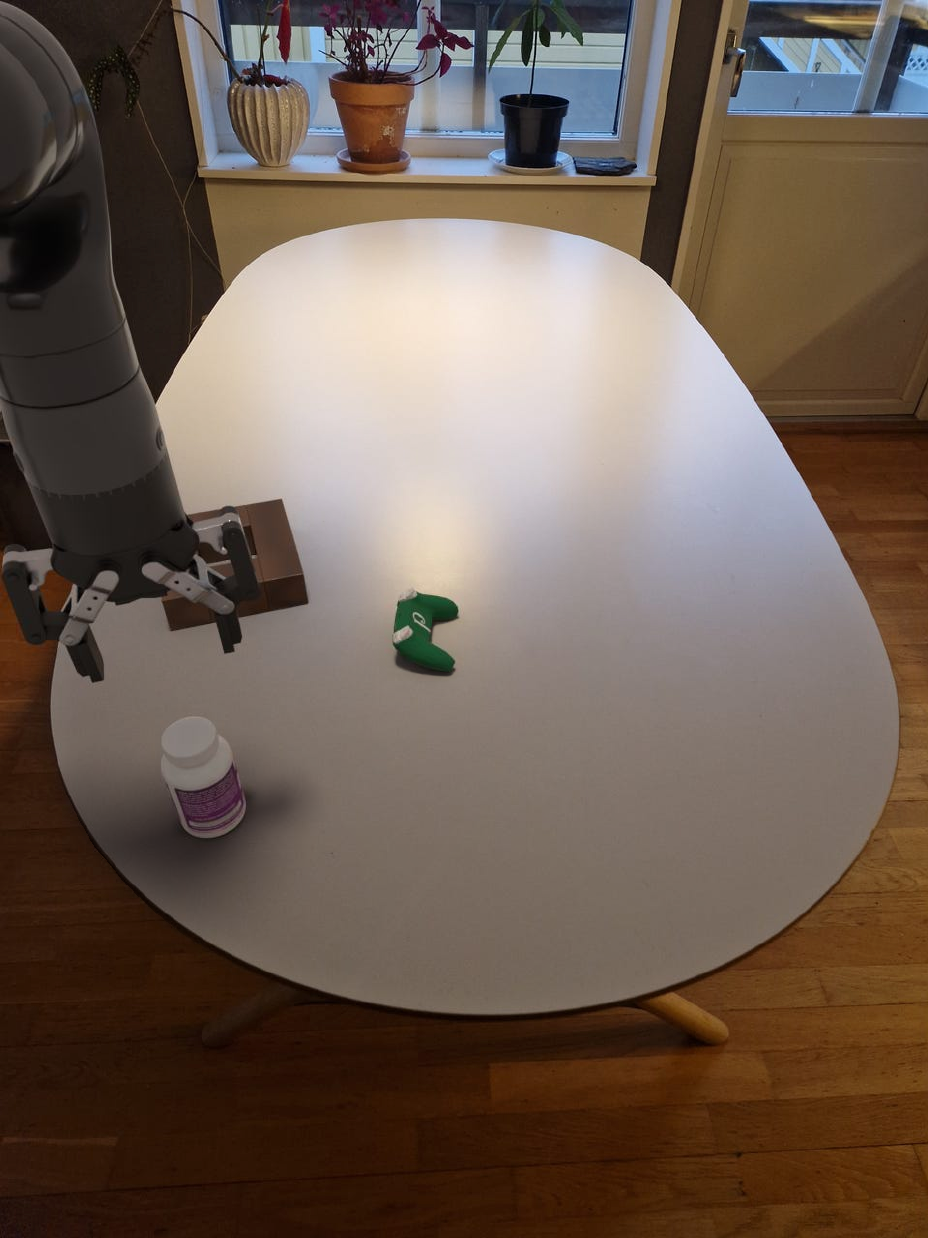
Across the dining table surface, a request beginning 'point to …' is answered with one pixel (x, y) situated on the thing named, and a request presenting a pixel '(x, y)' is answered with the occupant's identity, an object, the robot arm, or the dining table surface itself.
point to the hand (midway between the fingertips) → (164, 658)
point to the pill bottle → (202, 778)
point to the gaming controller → (422, 628)
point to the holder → (272, 566)
